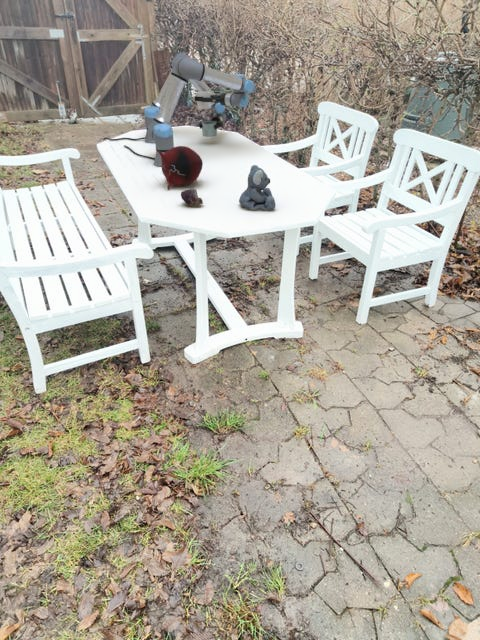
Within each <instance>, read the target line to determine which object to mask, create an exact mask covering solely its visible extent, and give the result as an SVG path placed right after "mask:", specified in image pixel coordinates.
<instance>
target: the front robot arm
mask: <svg viewBox="0 0 480 640" xmlns="http://www.w3.org/2000/svg"><path fill="white" fill-rule="evenodd" d="M174 58H175V57H174ZM174 58H173V61H172V63H173V64H172V63H171V65H172V72H171V71H170V72H171V78H172V79H171V82H170V84H169V87H168V90H167V92H166V95H165V98H164V100H163V103H162V106H161V108H160V111H159V113H158V116H157V117H154V120H153V122H152V123H151V124H150V125H149V128H148V134H149V136H150V138H151V139H152V140H153V141H155V143H154V145H155V155H154V157H151V156H147V155H143V154H140V153H137V152H135V151H134V150H133V149H132V148H131V147H129V146H127V145H125V144H124V145H123V146H124V147H125V148H127V149H129V150H130V152H132V153H133V154H135V155H136V156H139V157H142V158H148V159H152V160H154V165H155V166H157V167H161V168H162V160H161V158H162V157H161V155H160V154H159V152H158V150H160V151H161V152H162V154H164V153H165V152H166V151H168V150H170V149H172V148H174V147H175V143H174V130H173V127H172V125H171V120H172V118H173V116H174V112H175V110H176V107H177V106H178V103H179V101H180V97H181V95H182V92H183V89H184V87H185V86H187V85H188V84H189V79H193V80H198V81H202V80H203V81H204V82H208V83H212V84H215V85H219V86H222V87H225V88H229V89H232V90H233V93H227V92H226V93H225V92H224V93H223V92H222V93H220V94H219V95H218V94H215V95H211V97H203V96H202V97H197V95H195V96H194V101H195V102H197V101H202V102H214V103H215V102H216V103H218V102H220V104H221V105H225V107H226V106H227V107H239V108H246V107H247V106H248V105H249V101H250V100H249V96H248V94H249V95H250V94H252V93H253V92H254V91H255V86H256V85H255V83H254V81H252V80H250V79H246V76H245V74H242V73H236V74H234V75H233V74H231V73H227V72H224V71H221V70H219V69H215V68H212V67H208V66H207V65H206V64H205V63H202V62H200V61H197V60H195V59H194V58H192V57H189V56H188V57H186V56H179V57H177V58H175V59H174Z"/></svg>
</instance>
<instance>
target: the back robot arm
mask: <svg viewBox="0 0 480 640" xmlns="http://www.w3.org/2000/svg"><path fill="white" fill-rule="evenodd" d="M179 56H186V57H189V55H188V54H186V53H185V52H179V53H178V54H176V55H175V56H174V58H173V60H174V59H175V58H177V57H179ZM172 64H173V62H172V63H171V65H170V72H169V73H168V76H167V77H166V80H165V81H164V84H163V85H162V87H161V90H160V91H159V93H158V95H157V97H156V98H155V99H154V100H153V101H152V102H151V104H150V106H147V107H145V108H144V112H143V114H144V120H145V121H144V122H145V128H146V133H145V137H139V138H131V137H119V138H110V137H103V139H102V141H105V140H109V141H120V140H130V141H140V140H145V142H146V143H149V144H155V141H153V140H152V139H151V138H150V136H149V134H148V128H149V125H150V124H151V123H152V122H153V120H154V117H157V116H158V113H159V111H160V108H161V106H162V103H163V100H164V98H165V95H166V92H167V90H168V87H169V84H170V82H171V79H172V78H171V72H172ZM188 83H190V84H191V85H192V87H194V89H195V90H197V92H199V91H209V92H210V93H211V95H216V93H214V91H212V89H211V88H210V87H209V86H208V85H207V83H206V81H205V80H202V81H198V80H193V79H189V81H188ZM211 108H213V110H214V116H212V117H211V118H210V119H209V121H214V122H217V124H216V125H215V129H217V130H218V129H219V128H223V127H224V124H225V122H226V121H227V115H226V106H225V105H221V104H220V102H218V103H216V102H215V103H214V102H211ZM205 121H208V120H203V121H200V122H199V123H198V125H199V129H201V130H202V122H205Z"/></svg>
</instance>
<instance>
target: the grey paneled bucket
mask: <svg viewBox="0 0 480 640" xmlns="http://www.w3.org/2000/svg"><path fill="white" fill-rule="evenodd" d="M202 96H203V97H211V93H210V92H209V91H196V97H202ZM196 107H197V109H198V110H211V109H212V106H211V102H202V101H196Z"/></svg>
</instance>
